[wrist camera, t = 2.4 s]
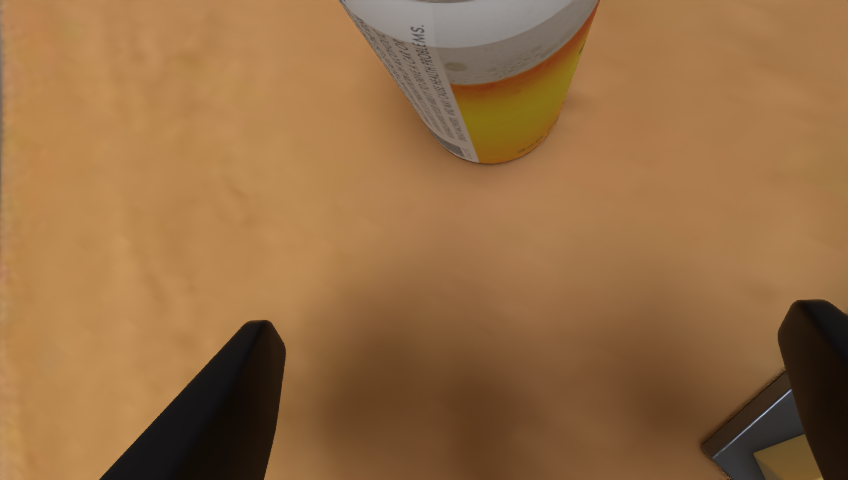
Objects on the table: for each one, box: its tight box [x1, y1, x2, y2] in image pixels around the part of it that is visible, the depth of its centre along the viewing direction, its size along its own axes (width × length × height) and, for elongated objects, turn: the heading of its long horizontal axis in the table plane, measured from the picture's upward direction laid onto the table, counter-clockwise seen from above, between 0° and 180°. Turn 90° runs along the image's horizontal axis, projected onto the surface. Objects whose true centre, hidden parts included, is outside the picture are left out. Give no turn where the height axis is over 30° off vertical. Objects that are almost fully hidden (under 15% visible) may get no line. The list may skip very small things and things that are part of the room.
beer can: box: [339, 0, 600, 164], centre depth 16 cm, size 6×6×15 cm
